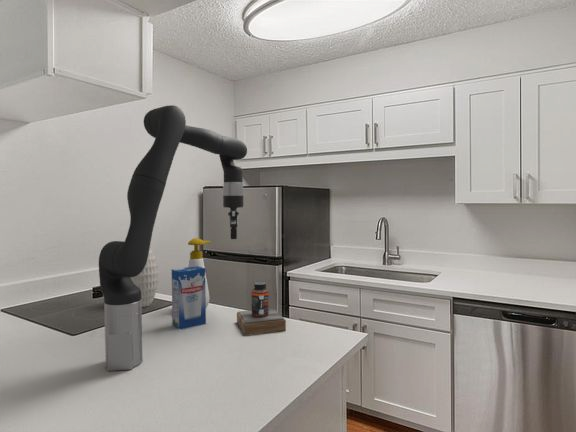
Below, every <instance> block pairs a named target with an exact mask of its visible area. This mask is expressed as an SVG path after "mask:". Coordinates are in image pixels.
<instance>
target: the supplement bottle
mask: <svg viewBox="0 0 576 432" xmlns="http://www.w3.org/2000/svg"><path fill="white" fill-rule="evenodd" d="M253 287H254V288H252V290H251V310H252V315H253V316H255V317H265V316H267V315H268V312H269V309H270V308H269V305H270V303H269V301H270V300H269V298H270V296H269V295H270V294H269V289H268V288H267V284H266V282H264V281H258V282H255V283H254V286H253Z"/></svg>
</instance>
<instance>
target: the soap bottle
mask: <svg viewBox="0 0 576 432" xmlns="http://www.w3.org/2000/svg"><path fill="white" fill-rule="evenodd" d="M210 243H211V241H210V240H203V239H201V238H195V237H194V238H192V239H190V240H189V241H188V242H187V244H188V246H194V247H193V248H194V249H193V250H191V251H190V252H189V253H190V254H189V260H188V266H187V267H194V266H198V267H202V268H205V269H206V266H205V262H204V261H205V260H204V258H203V252H202V251H201V250H199V246H201V245H203V246H204V245H205V244H206V245H207V244H210ZM205 301H206V309H207V307H208V306H209V302H210V291H209V285H208V280H207V275H206V272H205Z"/></svg>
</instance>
